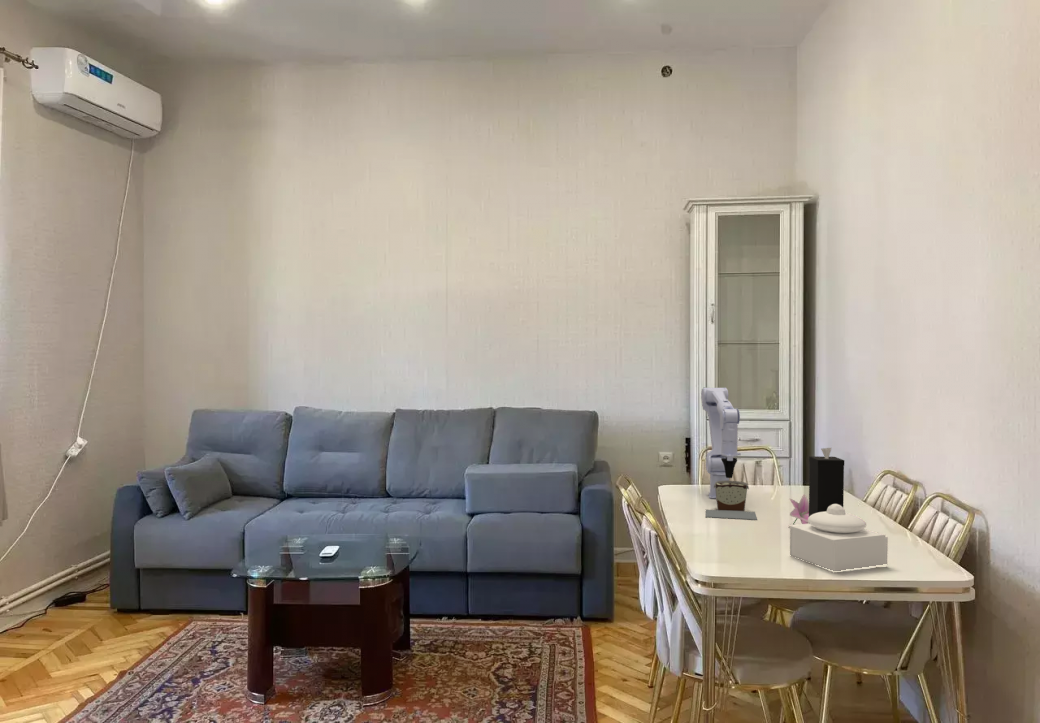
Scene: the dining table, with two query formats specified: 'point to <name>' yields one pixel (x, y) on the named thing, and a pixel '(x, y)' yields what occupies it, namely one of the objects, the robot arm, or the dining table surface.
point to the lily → (801, 510)
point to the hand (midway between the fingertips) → (729, 477)
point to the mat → (731, 514)
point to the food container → (731, 495)
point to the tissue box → (825, 482)
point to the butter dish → (837, 541)
